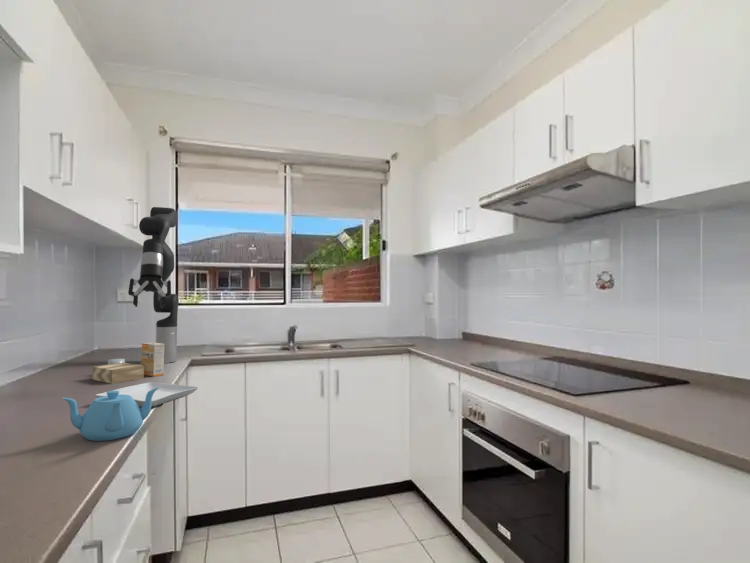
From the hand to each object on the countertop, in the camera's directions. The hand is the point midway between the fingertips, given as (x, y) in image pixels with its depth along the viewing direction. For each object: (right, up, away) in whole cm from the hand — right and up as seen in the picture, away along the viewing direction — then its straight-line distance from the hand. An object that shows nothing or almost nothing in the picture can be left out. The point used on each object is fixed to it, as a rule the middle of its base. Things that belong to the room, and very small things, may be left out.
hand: (149, 306), depth 161 cm
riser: (-16, -29, +7) cm, 33 cm away
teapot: (+22, -27, -59) cm, 68 cm away
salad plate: (+13, -29, -25) cm, 40 cm away
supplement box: (-7, -29, +15) cm, 34 cm away
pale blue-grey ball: (-22, -29, +17) cm, 40 cm away
